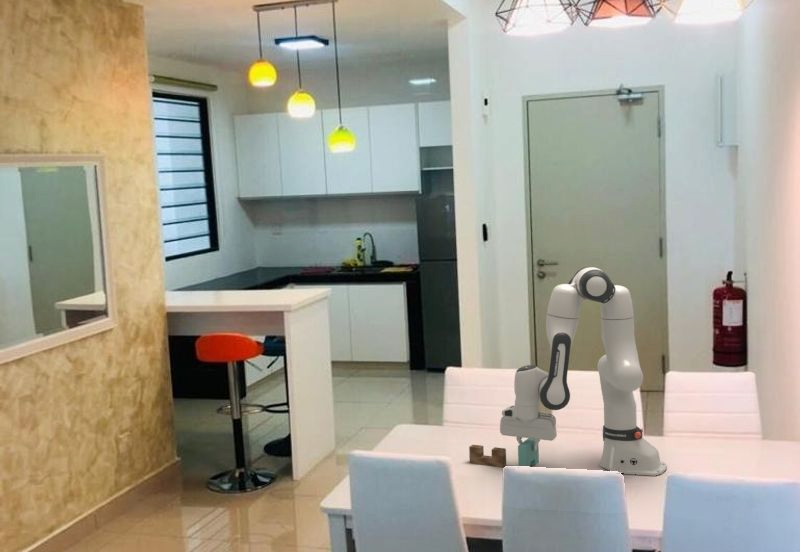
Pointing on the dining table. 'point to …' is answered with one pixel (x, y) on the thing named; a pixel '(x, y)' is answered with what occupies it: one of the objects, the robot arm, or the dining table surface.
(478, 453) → the stand plate
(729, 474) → the dining table surface
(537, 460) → the cross plate
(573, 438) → the dining table surface
